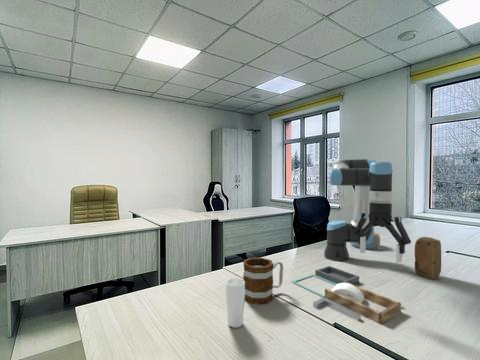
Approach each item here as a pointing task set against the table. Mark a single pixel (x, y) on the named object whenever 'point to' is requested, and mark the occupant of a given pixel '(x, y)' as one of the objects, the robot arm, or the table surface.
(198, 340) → the table surface
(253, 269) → the mug
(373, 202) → the robot arm
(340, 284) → the computer mouse
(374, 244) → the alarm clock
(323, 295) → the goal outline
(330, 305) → the grey l-shaped bar
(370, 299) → the wooden u-shaped frame
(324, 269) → the grey tray
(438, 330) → the table surface
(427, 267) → the block
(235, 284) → the drinking glass
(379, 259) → the table surface
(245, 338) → the table surface
